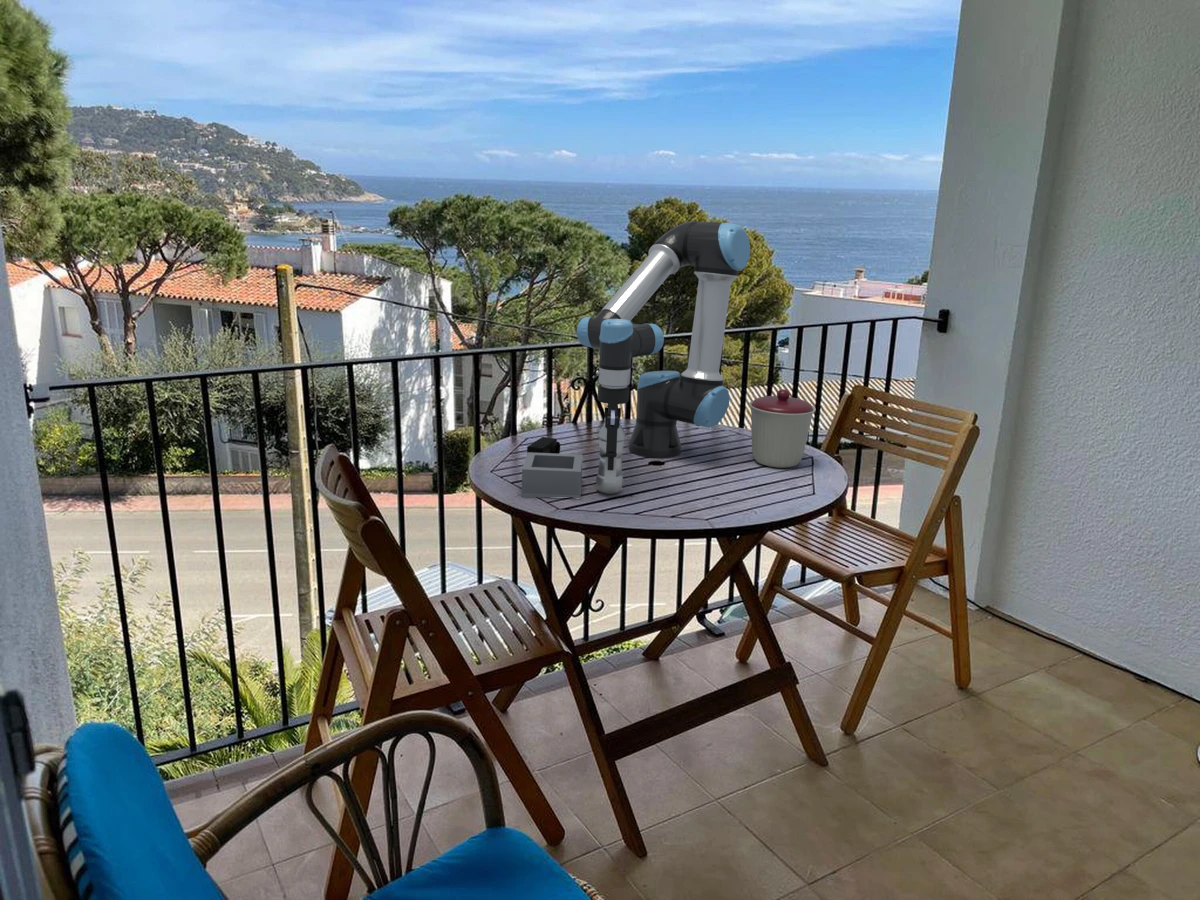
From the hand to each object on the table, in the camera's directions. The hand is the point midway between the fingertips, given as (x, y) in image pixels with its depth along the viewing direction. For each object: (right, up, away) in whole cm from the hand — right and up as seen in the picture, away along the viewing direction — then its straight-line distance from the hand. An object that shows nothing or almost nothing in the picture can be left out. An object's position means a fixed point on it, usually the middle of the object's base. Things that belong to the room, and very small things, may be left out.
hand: (609, 477), depth 208 cm
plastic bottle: (0, -4, +1) cm, 4 cm away
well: (-14, -3, +2) cm, 15 cm away
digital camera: (-17, +2, +19) cm, 26 cm away
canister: (+47, +3, +31) cm, 56 cm away
